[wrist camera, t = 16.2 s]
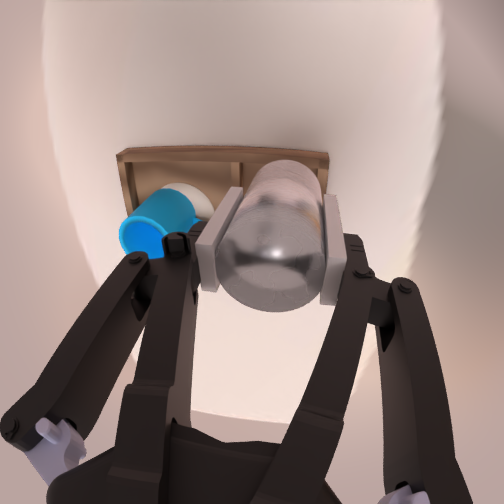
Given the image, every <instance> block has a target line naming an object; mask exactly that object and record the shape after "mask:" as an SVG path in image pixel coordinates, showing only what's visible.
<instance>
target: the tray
mask: <svg viewBox="0 0 504 504" xmlns="http://www.w3.org/2000/svg"><path fill="white" fill-rule="evenodd" d="M116 158H117V164H118V170H119V176H120V181H121V186H122V191H123V196H124V201H125V206H126V210H127V215H128V216H130V215H131V214H132V213H133V212H134V211H135V210H136V209H137V208H138V207H139V206H140V205H141V204H142V203H143V202H144V201H145V200H146V199H147V198H148V197H149V196H150V195H151V194H153V193H154V192H155V191H157V190H159V189H162V188H171V189H174V190H177V191H179V192H181V193H182V194H184V195H185V196H186V197H187V198H188V199H189V200H190V202H191V203H192V205H193V207H194V209H195V212H196V218H198V219H200V220H202V221H207V222H209V220H210V219H211V217H212V215H213V214H214V212H215V211H216V209H217V208H218V206H219V205H220V203H221V201H222V200H223V198H224V197H225V195H226V194H227V192H228V191H229V189H230V188H231V187H243V197H244V196H245V194H246V192H247V190H248V188H249V186H250V184H251V182H252V180H253V178H254V177H255V175H256V173H257V172H258V171H259V170H260V169H261V168H262V167H263V166H265V165H266V164H268V163H270V162H273V161H277V160H292V161H296V162H299V163H301V164H303V165H305V166H306V167H308V168H309V169H310V170H311V171H312V172H313V173H314V174H315V176H316V177H317V179H318V181H319V184H320V188H321V197H322V206H323V197H324V194H326V186H327V178H328V169H329V156H328V153H321V152H312V151H302V150H290V149H277V148H261V147H239V146H163V147H141V148H127V149H125V150H123V151H122V152H120V153H118V154H116Z"/></svg>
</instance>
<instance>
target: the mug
mask: <svg viewBox="0 0 504 504" xmlns="http://www.w3.org/2000/svg"><path fill="white" fill-rule="evenodd" d="M198 221H202V220H200V219H198V218H196V212H195V209H194V207H193V205H192V203H191V202H190V200H189V199H188V198H187V197H186V196H185V195H184V194H182V193H181V192H179V191H177V190H174V189H171V188H162V189H159V190H157V191H155V192H154V193H153V194H151V195H150V196H149V197H148V198H147V199H146V200H145V201H144V202H143V203H142V204H141V205H140V206H139V207H138V208H137V209H136V210H135V211H134V212H133V213H132V214H131V215H130V216H128V217H127V218H126V219H125V220H124V221H123V222H122V224H121V226H120V229H119V240H120V243H121V246H122V248H123V249H124V251H125V253H126V254H129V253H131V252H135V251H143V252H146V253H147V254H148V257H149V259H155V258H163V257H164V251H163V247H162V242H161V239H162V238H163V237H164V236H165V235H167V234H169V233H172V232H185V233H188V231H189V230H190V228H191V227H192V225H194V224H195V223H197V222H198Z"/></svg>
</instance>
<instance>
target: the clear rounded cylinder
mask: <svg viewBox="0 0 504 504" xmlns="http://www.w3.org/2000/svg"><path fill="white" fill-rule="evenodd" d="M215 266H216V275H217V278H218V280H219V282H220V283H221V285H222V286H223V288H224V289H225V290H226V291H227V293H228V294H230V295H231V296H232V297H233V298H234V299H236V300H237V301H239V302H240V303H242V304H244V305H246V306H248V307H251V308H253V309H257V310H260V311H266V312H285V311H291V310H294V309H297V308H300V307H302V306H304V305H306V304H307V303H309V302H310V301H312V300H313V299H314V298H315V297H316V296H317V295H318V294H319V292H320V291H321V289H322V287H323V283H324V277H325V272H326V257H325V238H324V223H323V209H322V197H321V188H320V184H319V181H318V179H317V177H316V176H315V174H314V173H313V172H312V171H311V170H310V169H309V168H308V167H306V166H305V165H303V164H301V163H299V162H296V161H292V160H277V161H273V162H270V163H268V164H266V165H265V166H263V167H262V168H261V169H260V170H259V171H258V172H257V173H256V175H255V177H254V178H253V180H252V182H251V184H250V186H249V188H248V190H247V192H246V194H245V196H244V197H243V199H242V201H241V203H240V205H239V207H238V209H237V211H236V213H235V215H234V217H233V219H232V221H231V223H230V225H229V227H228V229H227V231H226V233H225V235H224V236H223V238H222V240H221V242H220V244H219V246H218V248H217V251H216V254H215Z"/></svg>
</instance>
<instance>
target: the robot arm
mask: <svg viewBox="0 0 504 504" xmlns="http://www.w3.org/2000/svg"><path fill="white" fill-rule="evenodd" d="M242 199H243V187H231V188H230V189H229V191H228V192H227V194H226V195H225V197H224V198H223V200H222V201H221V203H220V205H219V206H218V208H217V209H216V211H215V212H214V214H213V215H212V217H211V219H210V220H209V222H207V221H198V222H197V223H195V224H194V225H192V227H191V228H190V230H189V231H188V233H185V232H172V233H169V234H167V235H165V236H164V237H163V238H162V239H161V242H162V247H163V251H164V257H163V258H155V259H149V257H148V254H147V253H146V252H143V251H135V252H131V253H129V254H127V255H126V256H125V257H124V258H123V259H122V261H121V262H120V263H119V264H118V265H117V267H116V268H115V269H114V270H113V272H112V273H111V274H110V276H109V277H108V278H107V279H106V281H105V282H104V283H103V285H102V286H101V287H100V289H99V290H98V291H97V292H96V294H95V295H94V297H93V298H92V299H91V301H90V302H89V303H88V305H87V306H86V307H85V309H84V310H83V312H82V313H81V314H80V316H79V317H78V319H77V320H76V321H75V323H74V324H73V326H72V327H71V329H70V330H69V331H68V333H67V335H66V336H65V338H64V339H63V341H62V342H61V344H60V345H59V346H58V348H57V349H56V351H55V353H54V354H53V356H52V357H51V359H50V360H49V362H48V364H47V365H46V367H45V368H44V370H43V372H42V373H41V375H40V377H39V378H38V380H37V382H36V383H35V385H34V386H33V387H32V388H31V389H29V390H28V391H27V392H26V394H25V395H23V396H22V397H21V398H20V399H19V400H18V401H17V402H16V403H15V404H14V405H13V406H12V407H11V408H10V409H9V410H8V411H7V412H6V413H5V414H4V415H3V417H2V418H1V422H0V432H1V435H2V437H3V438H4V439H5V441H7V442H8V443H10V444H11V445H13V446H14V447H16V448H17V449H19V450H21V451H22V452H24V453H25V455H26V456H27V458H28V459H29V460H30V462H31V463H32V465H33V466H34V467H35V469H36V470H37V472H38V473H39V474H40V476H41V477H42V478H43V480H44V481H45V482H46V483H47V485H48V486H49V488H48V491H47V496H46V502H47V504H342V503H341V502H340V500H339V499H338V498H337V496H336V495H335V493H334V492H333V491H332V490H331V488H330V486H329V485H328V484H327V482H326V481H325V477H326V474H327V472H328V469H329V467H330V464H331V461H332V458H333V456H334V453H335V450H336V448H337V445H338V441H339V439H340V436H341V433H342V429H343V425H344V421H343V418H344V414H345V411H346V408H347V404H348V401H349V398H350V394H351V390H352V387H353V383H354V379H355V376H356V372H357V368H358V364H359V359H360V355H361V351H362V346H363V342H364V337H365V332H366V327H367V323H370V324H373V325H375V330H376V338H377V346H378V355H379V365H380V374H381V375H380V376H381V389H382V404H383V405H382V406H383V436H384V459H383V461H384V462H383V476H384V487H385V494H386V495H385V496H384V497H383V498H382V499H381V500H380V501H379V502H378V504H473V502H472V499H471V496H470V494H469V491H468V488H467V485H466V483H465V480H464V478H463V475H462V473H461V470H460V468H459V465H458V463H457V461H456V458H455V450H454V440H453V432H452V424H451V417H450V410H449V404H448V399H447V393H446V388H445V383H444V378H443V373H442V369H441V364H440V360H439V356H438V352H437V348H436V344H435V341H434V337H433V333H432V330H431V327H430V323H429V320H428V317H427V313H426V310H425V307H424V304H423V301H422V298H421V295H420V292H419V289H418V287H417V285H416V284H415V283H414V282H413V281H411V280H409V279H407V278H403V277H397V278H395V279H393V281H392V283H388V282H385V281H382V280H379V279H378V278H376V277H375V273H374V271H373V270H372V269H371V268H369V266H368V262H367V258H366V253H365V249H364V245H363V241H362V240H361V238H360V237H359V236H358V235H355V234H346V233H343V230H342V224H341V219H340V213H339V208H338V202H337V197H336V195H330V194H324V197H323V206H322V209H323V223H324V238H325V257H326V272H325V277H324V283H323V287H322V289H321V291H320V304H322V305H333V306H336V307H335V310H334V313H333V316H332V319H331V322H330V325H329V328H328V331H327V334H326V337H325V339H324V342H323V345H322V348H321V351H320V353H319V356H318V359H317V362H316V364H315V367H314V370H313V372H312V375H311V377H310V380H309V382H308V385H307V387H306V390H305V392H304V395H303V397H302V400H301V402H300V404H299V407H298V408H297V410H296V412H295V414H294V416H293V419H292V421H291V423H290V425H289V428H288V430H287V433H286V434H285V436H284V439H283V441H282V443H281V444H277V443H269V442H262V441H249V442H230V443H225V442H221V441H219V440H217V439H215V438H213V437H211V436H208V435H207V434H205V433H203V432H201V431H199V430H197V429H194V428H192V427H191V421H190V407H191V387H192V370H193V355H194V341H195V329H196V317H197V306H198V290H197V288H198V286H199V284H200V283H201V289H202V290H203V291H210V292H217V290H218V287H219V285H220V282H219V280H218V278H217V275H216V266H215V254H216V251H217V248H218V246H219V244H220V242H221V240H222V238H223V236H224V235H225V233H226V231H227V229H228V227H229V225H230V223H231V221H232V219H233V217H234V215H235V213H236V211H237V209H238V207H239V205H240V203H241V201H242ZM337 298H338V300H337ZM336 302H337V303H336ZM144 327H145V329H144V334H143V338H142V342H141V347H140V352H139V356H138V361H137V367H136V371H135V377H134V380H133V383H132V384H128V385H127V386H126V387H125V390H124V393H123V398H122V403H121V409H120V415H119V421H118V428H117V433H116V440H115V446H114V447H112V448H110V449H109V450H107V451H105V452H103V453H101V454H100V455H98V456H96V457H94V458H92V459H90V460H88V461H86V462H85V463H83V464H81V465H78V464H79V459H83V458H84V457H85V456H86V449H85V447H84V440H85V439H86V438H87V436H88V435H89V433H90V432H91V430H92V429H93V427H94V425H95V423H96V422H97V420H98V418H99V415H100V414H101V411H102V409H103V407H104V405H105V403H106V401H107V399H108V397H109V395H110V393H111V391H112V389H113V387H114V384H115V382H116V380H117V378H118V376H119V374H120V372H121V370H122V368H123V366H124V365H125V363H126V361H127V359H128V357H129V355H130V353H131V351H132V349H133V347H134V345H135V343H136V342H137V340H138V338H139V336H140V334H141V332H142V330H143V328H144Z"/></svg>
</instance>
